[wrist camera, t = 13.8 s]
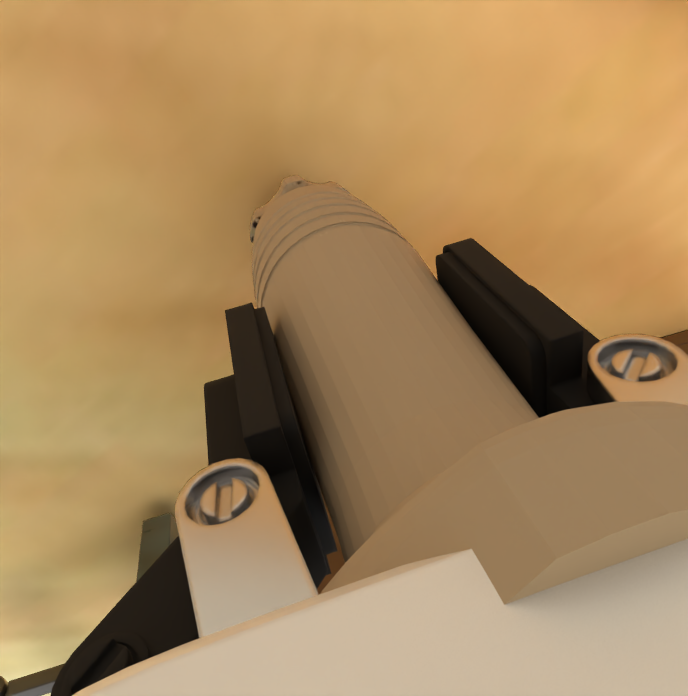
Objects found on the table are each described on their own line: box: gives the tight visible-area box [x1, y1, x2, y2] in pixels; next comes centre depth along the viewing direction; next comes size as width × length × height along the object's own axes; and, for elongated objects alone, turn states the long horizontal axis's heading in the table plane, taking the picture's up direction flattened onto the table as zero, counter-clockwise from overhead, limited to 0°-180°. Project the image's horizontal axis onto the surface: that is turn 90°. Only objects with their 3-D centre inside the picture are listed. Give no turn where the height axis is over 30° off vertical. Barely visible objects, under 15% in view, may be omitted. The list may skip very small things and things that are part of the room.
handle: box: [250, 175, 688, 605], centre depth 12 cm, size 5×6×15 cm
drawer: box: [0, 486, 345, 696], centre depth 24 cm, size 19×11×7 cm, turn 102°
